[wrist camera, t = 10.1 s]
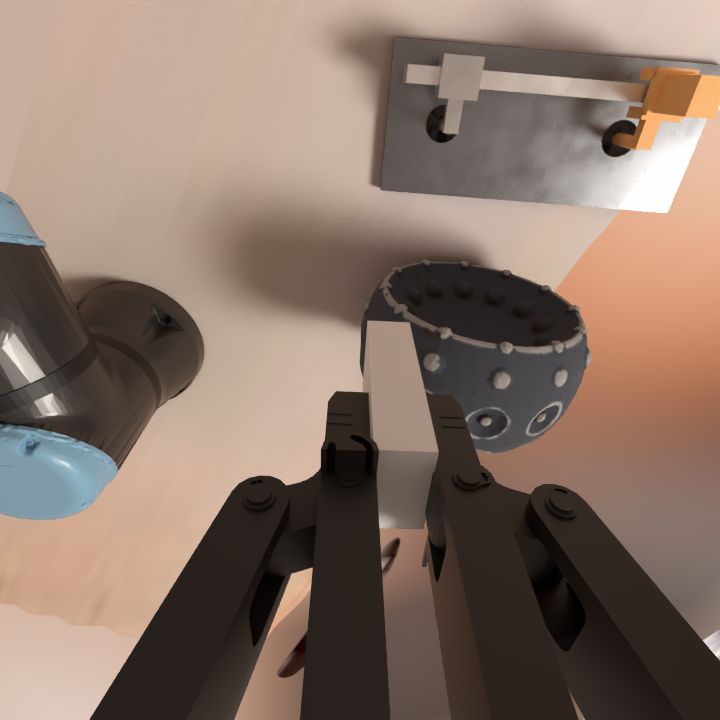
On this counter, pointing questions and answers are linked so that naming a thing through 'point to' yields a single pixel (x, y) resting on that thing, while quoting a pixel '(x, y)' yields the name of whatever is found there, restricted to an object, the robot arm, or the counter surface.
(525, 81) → the grey slide rail
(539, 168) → the bolt plate
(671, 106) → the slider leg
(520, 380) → the studded round pot
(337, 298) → the counter surface
